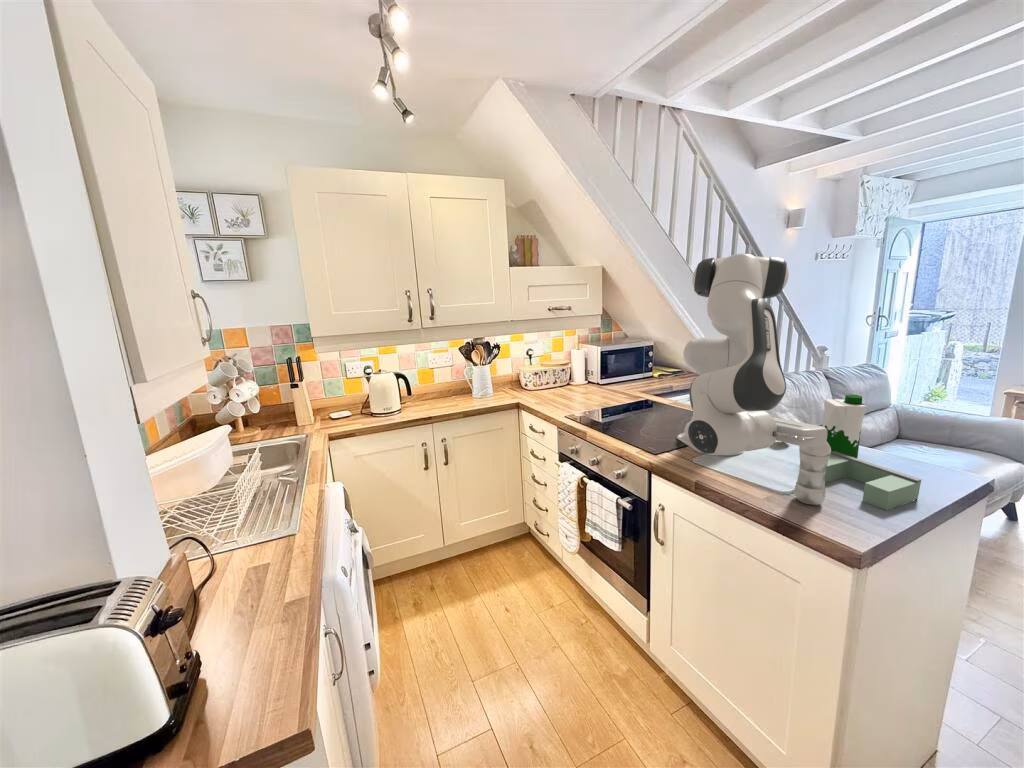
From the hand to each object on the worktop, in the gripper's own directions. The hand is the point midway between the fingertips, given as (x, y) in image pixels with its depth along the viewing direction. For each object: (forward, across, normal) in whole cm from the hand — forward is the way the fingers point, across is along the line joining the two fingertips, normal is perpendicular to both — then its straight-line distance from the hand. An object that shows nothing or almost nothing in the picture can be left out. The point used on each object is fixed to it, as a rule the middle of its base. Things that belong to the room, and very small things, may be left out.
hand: (792, 423), depth 92 cm
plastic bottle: (+12, +2, +22) cm, 26 cm away
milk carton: (+48, +13, +18) cm, 53 cm away
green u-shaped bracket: (+30, 0, +20) cm, 37 cm away
